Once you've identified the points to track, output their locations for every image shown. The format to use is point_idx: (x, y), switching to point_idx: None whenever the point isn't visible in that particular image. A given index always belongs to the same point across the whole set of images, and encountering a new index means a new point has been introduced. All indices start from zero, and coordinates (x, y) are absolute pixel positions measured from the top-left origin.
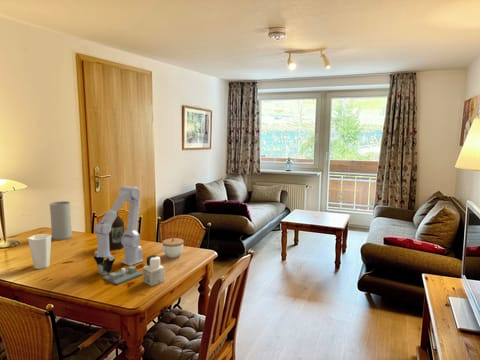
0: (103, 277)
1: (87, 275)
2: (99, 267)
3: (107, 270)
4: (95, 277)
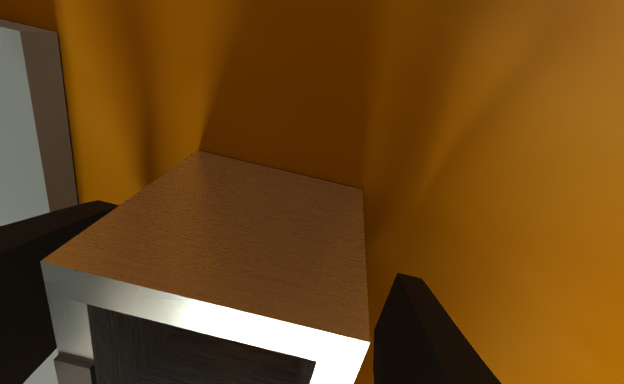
0: (28, 30)
1: (530, 6)
2: (295, 258)
3: (44, 224)
4: (258, 7)
